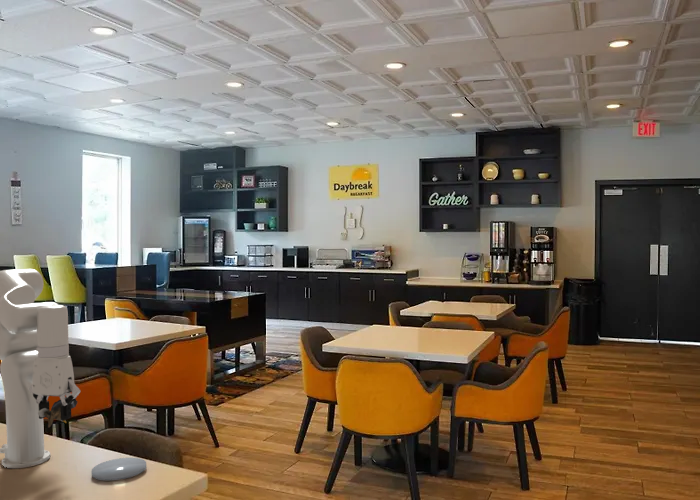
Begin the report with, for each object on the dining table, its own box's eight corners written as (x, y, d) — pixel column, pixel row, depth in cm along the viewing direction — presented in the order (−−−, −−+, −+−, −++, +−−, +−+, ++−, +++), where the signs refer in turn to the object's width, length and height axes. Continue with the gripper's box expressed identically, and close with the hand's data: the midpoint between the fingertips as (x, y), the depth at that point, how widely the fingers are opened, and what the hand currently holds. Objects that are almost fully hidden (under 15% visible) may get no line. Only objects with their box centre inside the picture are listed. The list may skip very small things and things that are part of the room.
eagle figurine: (68, 422, 163) (84, 406, 172) (50, 402, 162) (67, 387, 171) (48, 438, 165) (64, 421, 173) (29, 418, 163) (47, 402, 172)
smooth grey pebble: (80, 480, 164) (79, 474, 164) (114, 461, 178) (113, 456, 178) (125, 484, 160) (125, 478, 160) (156, 465, 174) (156, 459, 174)
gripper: (15, 353, 164) (17, 420, 165) (70, 355, 159) (72, 425, 160) (37, 347, 171) (39, 412, 172) (90, 350, 167) (92, 416, 167)
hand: (55, 417), depth 166 cm, fingers closed on eagle figurine, 6 cm apart
